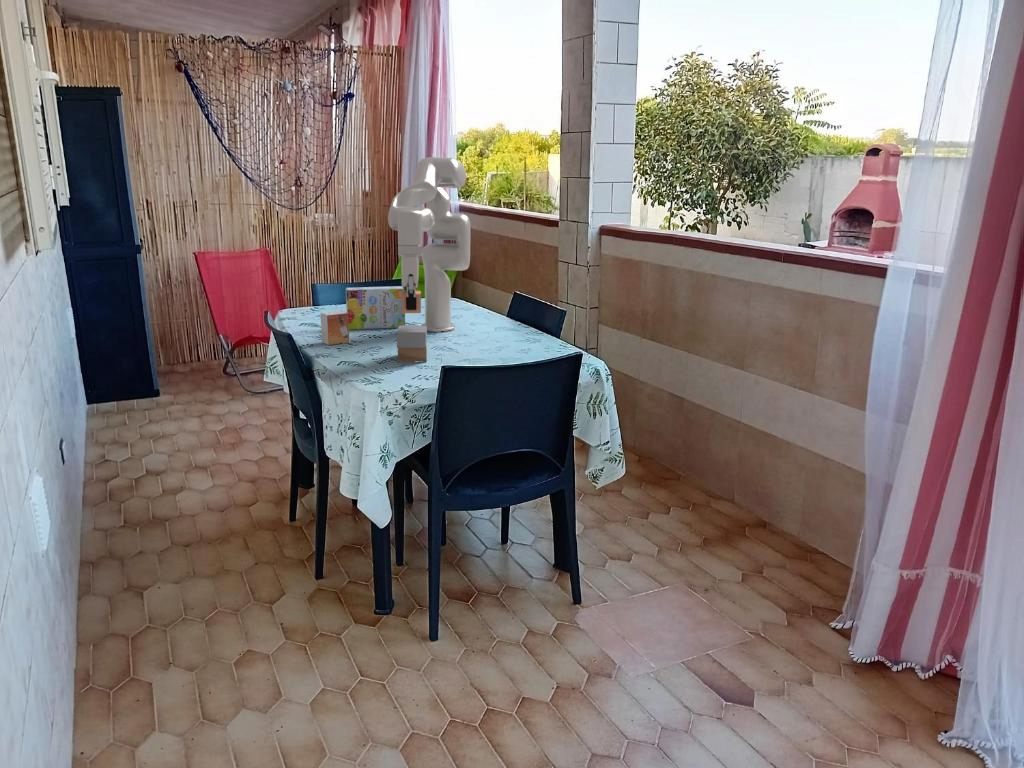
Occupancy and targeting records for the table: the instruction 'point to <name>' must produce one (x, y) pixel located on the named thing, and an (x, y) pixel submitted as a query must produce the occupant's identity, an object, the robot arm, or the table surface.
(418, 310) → the terracotta cube
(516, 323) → the table surface
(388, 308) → the snack box
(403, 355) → the tower bottom block
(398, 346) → the tower top block
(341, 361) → the table surface
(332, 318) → the small box
